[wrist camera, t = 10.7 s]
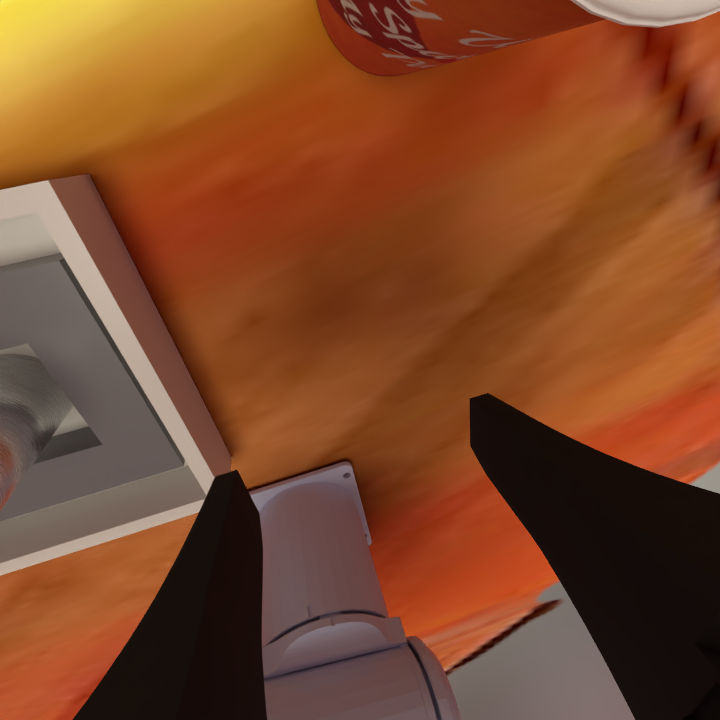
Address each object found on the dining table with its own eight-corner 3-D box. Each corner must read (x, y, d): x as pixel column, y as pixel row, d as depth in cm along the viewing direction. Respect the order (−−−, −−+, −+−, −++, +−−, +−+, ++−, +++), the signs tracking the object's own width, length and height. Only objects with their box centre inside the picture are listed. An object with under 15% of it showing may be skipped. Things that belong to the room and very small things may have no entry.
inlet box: (231, 457, 23) (228, 502, 20) (-13, 531, 21) (-55, 592, 18) (89, 173, 15) (48, 180, 12) (-329, 258, 13) (-499, 290, 10)
